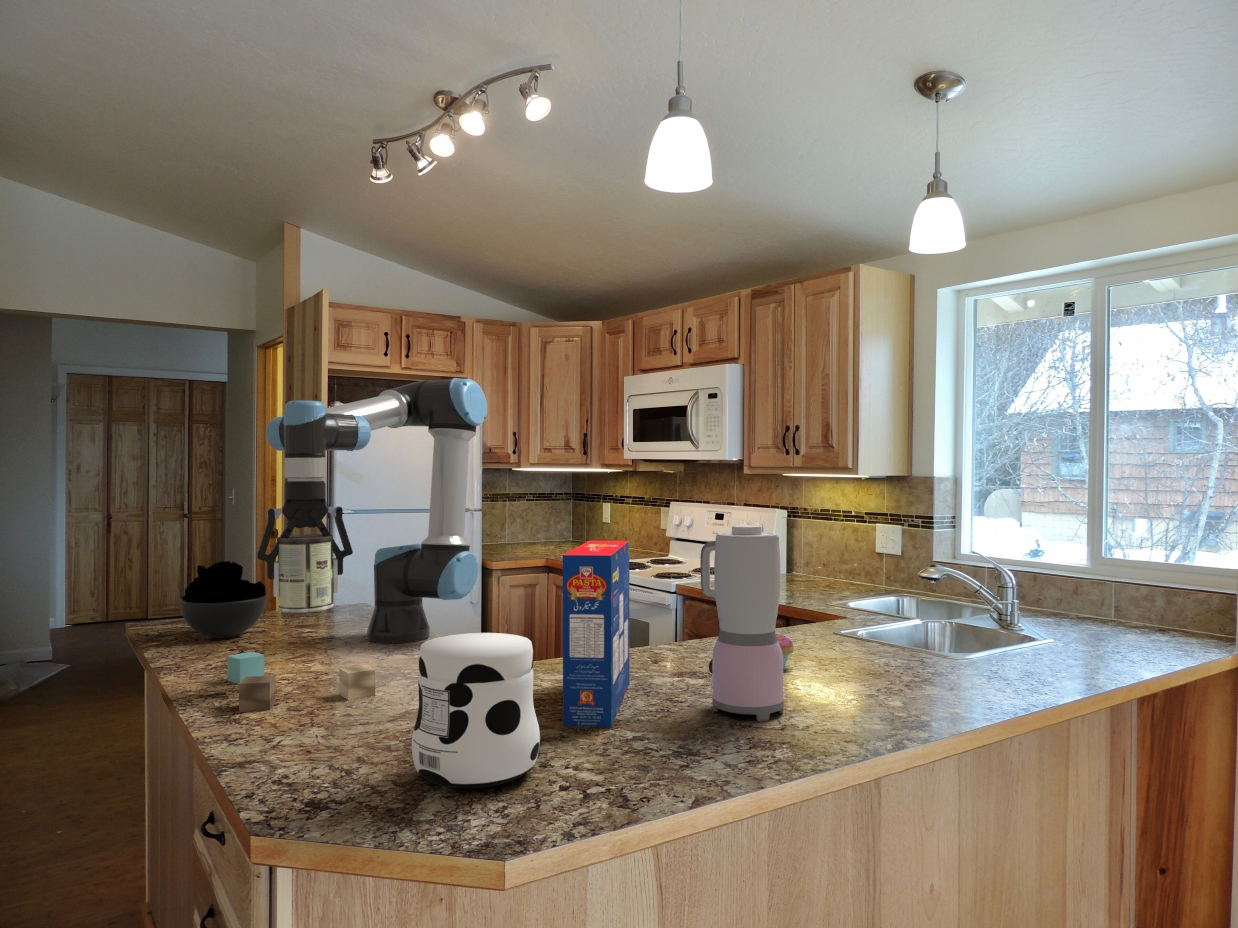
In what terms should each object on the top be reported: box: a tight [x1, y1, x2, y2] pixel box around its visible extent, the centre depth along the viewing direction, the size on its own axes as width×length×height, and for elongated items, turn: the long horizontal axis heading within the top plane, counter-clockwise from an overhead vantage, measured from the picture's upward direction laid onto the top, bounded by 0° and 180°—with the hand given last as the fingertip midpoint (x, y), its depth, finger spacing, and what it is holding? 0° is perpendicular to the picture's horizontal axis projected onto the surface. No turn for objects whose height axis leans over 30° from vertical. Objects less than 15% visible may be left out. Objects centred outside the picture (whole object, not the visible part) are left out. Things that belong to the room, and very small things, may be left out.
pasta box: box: [562, 540, 631, 729], centre depth 148 cm, size 28×8×28 cm, turn 173°
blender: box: [699, 524, 785, 722], centre depth 144 cm, size 16×12×32 cm
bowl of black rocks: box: [178, 560, 268, 639], centre depth 208 cm, size 20×20×19 cm
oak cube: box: [338, 664, 376, 701], centre depth 154 cm, size 5×5×5 cm
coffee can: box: [276, 533, 334, 614], centre depth 161 cm, size 10×10×14 cm
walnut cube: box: [238, 675, 277, 713], centre depth 146 cm, size 5×5×5 cm
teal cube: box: [226, 651, 265, 685], centre depth 165 cm, size 5×5×5 cm
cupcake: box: [775, 633, 795, 670], centre depth 174 cm, size 9×8×12 cm
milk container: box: [411, 632, 541, 789], centre depth 113 cm, size 17×17×18 cm
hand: (305, 593), depth 161 cm, fingers closed on coffee can, 10 cm apart
